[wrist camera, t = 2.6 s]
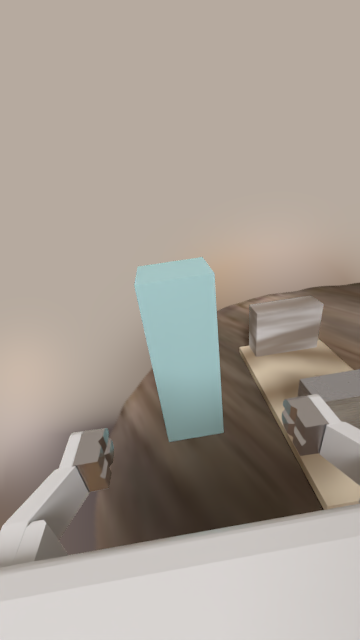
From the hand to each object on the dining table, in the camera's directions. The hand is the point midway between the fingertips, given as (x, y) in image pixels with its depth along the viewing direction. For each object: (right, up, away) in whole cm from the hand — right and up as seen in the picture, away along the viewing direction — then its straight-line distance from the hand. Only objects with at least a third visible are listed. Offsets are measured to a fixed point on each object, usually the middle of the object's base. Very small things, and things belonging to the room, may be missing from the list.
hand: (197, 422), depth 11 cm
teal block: (+1, -7, +18) cm, 19 cm away
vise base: (+16, -5, +18) cm, 24 cm away
